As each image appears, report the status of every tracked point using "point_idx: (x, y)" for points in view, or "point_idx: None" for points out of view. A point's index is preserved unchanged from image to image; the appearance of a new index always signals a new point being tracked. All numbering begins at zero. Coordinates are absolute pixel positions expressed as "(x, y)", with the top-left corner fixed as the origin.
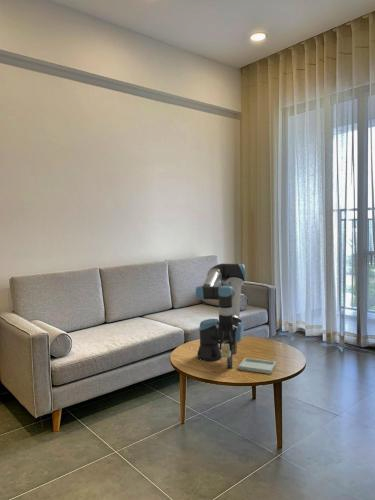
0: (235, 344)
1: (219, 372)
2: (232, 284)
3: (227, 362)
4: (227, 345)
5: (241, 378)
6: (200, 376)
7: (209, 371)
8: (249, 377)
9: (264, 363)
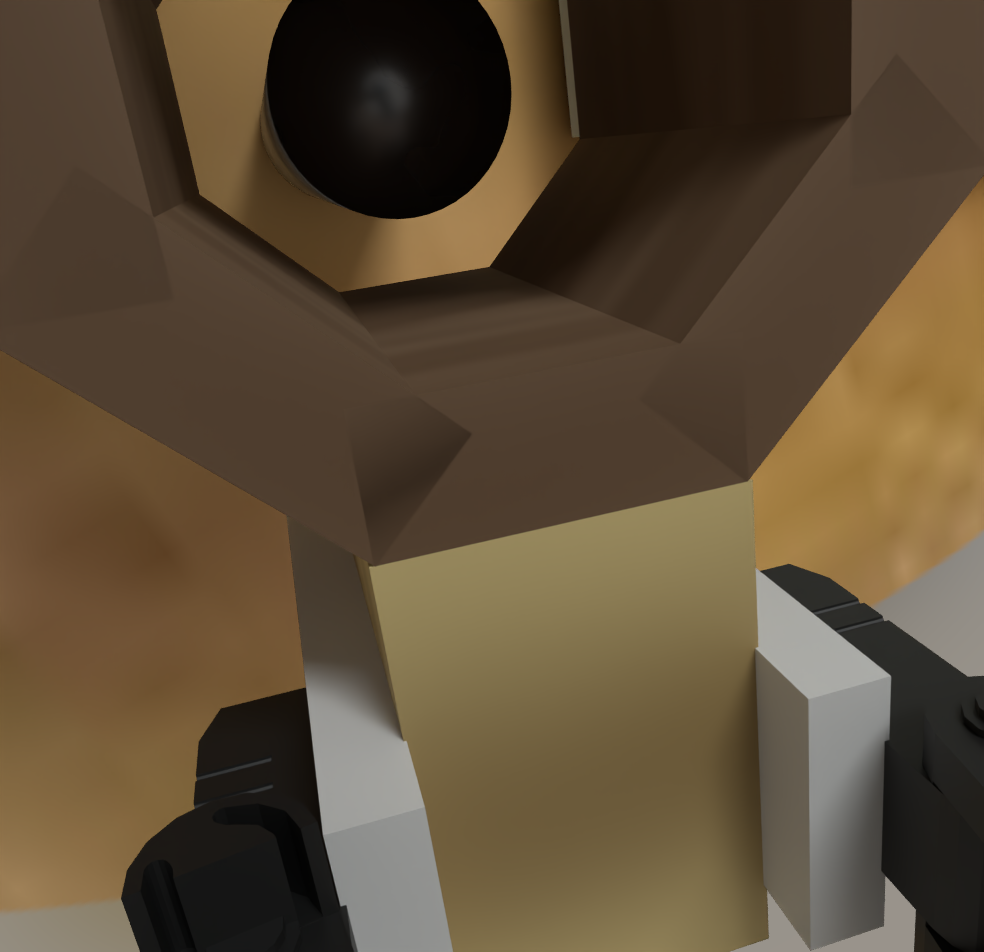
0: (948, 92)
1: (256, 515)
2: None
3: (302, 189)
4: (651, 716)
5: (772, 532)
6: (27, 897)
7: (14, 592)
8: (887, 412)
9: None
